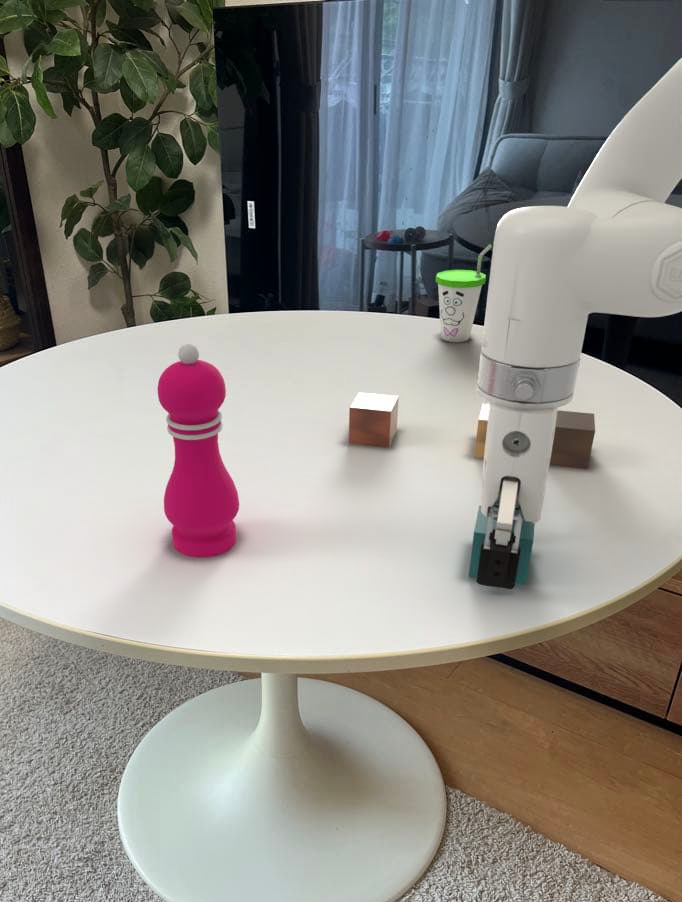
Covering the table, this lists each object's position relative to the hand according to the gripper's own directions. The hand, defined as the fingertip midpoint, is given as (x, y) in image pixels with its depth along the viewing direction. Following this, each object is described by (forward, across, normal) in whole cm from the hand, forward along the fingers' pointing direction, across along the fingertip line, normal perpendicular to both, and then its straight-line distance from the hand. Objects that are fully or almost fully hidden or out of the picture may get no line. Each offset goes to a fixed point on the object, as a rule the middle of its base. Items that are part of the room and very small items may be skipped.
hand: (499, 556), depth 72 cm
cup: (+1, +67, +12) cm, 68 cm away
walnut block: (+1, +25, -6) cm, 26 cm away
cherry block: (+1, +25, +17) cm, 30 cm away
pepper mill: (+2, -3, +28) cm, 28 cm away
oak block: (+1, +25, +2) cm, 25 cm away
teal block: (+1, 0, 0) cm, 1 cm away
